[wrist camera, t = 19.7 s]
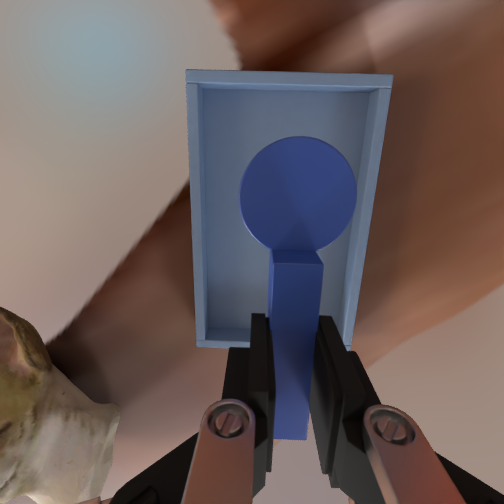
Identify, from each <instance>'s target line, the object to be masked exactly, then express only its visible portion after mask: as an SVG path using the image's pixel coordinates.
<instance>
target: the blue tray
mask: <svg viewBox="0 0 504 504" xmlns="http://www.w3.org/2000/svg"><path fill="white" fill-rule="evenodd" d="M185 73H186V95H187V96H186V97H187V120H188V121H187V122H188V146H189V171H190V172H189V173H190V198H191V223H192V248H193V273H194V298H195V323H196V346H197V347H206V348H230V347H250V333H251V313H265V316H266V317H267V303H268V281H269V259H270V249H268V248H266V247H265V246H263V245H262V244H260V243H259V242H258V241H257V240H256V239H255V238H254V237H253V236H252V235H251V234H250V233H249V231H248V229H247V228H246V226H245V224H244V222H243V220H242V217H241V214H240V210H239V202H238V194H239V186H240V182H241V179H242V176H243V173H244V171H245V169H246V167H247V166H248V164H249V163H250V161H251V160H252V159H253V158H254V156H255V155H256V154H257V153H258V152H260V151H261V150H262V149H263V148H264V147H266V146H268V145H269V144H271V143H273V142H275V141H277V140H280V139H283V138H286V137H292V136H308V137H313V138H317V139H320V140H323V141H325V142H327V143H329V144H330V145H332V146H333V147H335V148H336V149H337V150H338V151H339V152H340V153H341V154H342V155H343V156H344V157H345V158H346V160H347V161H348V163H349V164H350V166H351V168H352V170H353V173H354V176H355V180H356V185H357V202H356V207H355V211H354V214H353V216H352V219H351V221H350V223H349V224H348V226H347V228H346V229H345V230H344V232H343V233H342V234H341V235H340V236H339V237H338V238H337V239H336V240H335V241H334V242H333V243H331V244H330V245H328V246H327V247H325V248H323V249H321V250H319V251H316V252H317V254H318V256H319V257H320V259H321V260H322V262H323V264H324V273H323V283H322V293H321V303H320V313H319V315H327V316H332V318H333V320H334V322H335V325H336V327H337V329H338V331H339V334H340V336H341V338H342V341H343V343H344V345H345V347H346V350H347V351H350V350H351V343H352V337H353V330H354V324H355V318H356V311H357V305H358V299H359V292H360V286H361V280H362V273H363V267H364V260H365V254H366V248H367V241H368V235H369V229H370V222H371V216H372V210H373V203H374V197H375V191H376V184H377V178H378V172H379V165H380V159H381V152H382V146H383V140H384V133H385V127H386V121H387V114H388V108H389V102H390V95H391V87H392V83H393V76H394V75H393V74H362V73H321V72H280V71H238V70H197V69H187V70H186V71H185Z"/></svg>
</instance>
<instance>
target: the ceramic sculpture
mask: <svg viewBox="0 0 504 504" xmlns="http://www.w3.org/2000/svg"><path fill="white" fill-rule="evenodd" d="M120 417H121V411H120V407H119V406H118V405H117V404H115V403H106V404H100V403H96V402H93V401H92V400H90V399H89V398H88V397H87V396H86V395H85V394H84V393H83V392H82V391H81V390H80V389H78V388H77V387H76V386H75V385H73V383H72V382H71V381H70V380H69V379H68V378H67V377H66V376H65V375H64V374H63V373H62V372H61V371H59V370H58V369H57V368H56V367H55V366H54V365H53V364H52V362H51V359H50V356H49V354H48V352H47V350H46V348H45V345H44V343H43V341H42V339H41V337H40V335H39V333H38V332H37V330H36V329H35V328H34V327H33V326H32V325H31V324H30V323H29V322H28V321H26V320H25V319H22V318H20V317H19V316H17V315H16V314H14V313H12V312H10V311H8V310H6V309H4V308H2V307H0V504H4V503H6V502H7V501H9V500H11V499H13V498H15V497H17V496H20V495H26V496H29V497H30V498H32V499H33V500H34V501H35V502H37V504H77V503H80V502H83V501H86V500H90V499H93V498H96V497H99V496H100V494H101V491H102V489H103V486H104V483H105V481H106V478H107V476H108V474H109V471H110V468H111V466H112V457H113V444H114V439H115V434H116V430H117V427H118V423H119V420H120Z"/></svg>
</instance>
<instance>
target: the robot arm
mask: <svg viewBox="0 0 504 504" xmlns="http://www.w3.org/2000/svg"><path fill="white" fill-rule="evenodd" d="M275 405H276V381H275V367H274V353H273V340H272V330H270V329H269V317H266V316H265V313H251V333H250V347H230V348H229V353H228V360H227V367H226V373H225V380H224V387H223V393H222V400H220V401H217V402H215V403H214V404H212V405H210V406H209V408H208V409H207V410H206V411H205V413H204V415H203V418H202V422H201V426H200V430H199V432H198V433H196V434H195V435H193V436H192V437H190V438H189V439H188V440H186V441H185V442H183V443H182V444H181V445H179V446H178V447H176V448H175V449H174V450H172V451H171V452H169V453H168V454H167V455H165V456H164V457H162V458H161V459H160V460H158V461H157V462H155V463H154V464H152V465H151V466H150V467H148V468H147V469H145V470H144V471H143V472H141V473H140V474H138V475H137V476H136V477H134V478H133V479H131V480H130V481H129V482H127V483H126V484H125V485H124V486H123V487H121V488H120V489H119V490H118V491H117V492H116V494H115V495H114V497H113V498H109V499H106V500H103V501H101V498H100V496H99V497H96V498H93V499H90V500H86V501H83V502H80V503H77V504H252V499H253V497H254V496H255V495H256V494H257V493H258V492H259V491H260V490H261V489H262V488H263V487H264V486H265V477H266V476H265V475H266V472H271V465H272V451H273V436H274V420H275ZM309 408H310V414H311V419H312V423H313V429H314V434H315V439H316V444H317V449H318V454H319V460H320V465H321V469H322V473H323V474H328V475H329V480H330V484H331V488H340V489H341V490H342V491H343V492H344V493H345V494H346V495H348V496H349V504H504V495H503V494H501V493H499V492H498V491H496V490H495V489H493V488H492V487H490V486H488V485H487V484H485V483H484V482H482V481H481V480H479V479H477V478H476V477H474V476H473V475H471V474H469V473H468V472H466V471H465V470H463V469H461V468H460V467H458V466H456V465H455V464H453V463H452V462H450V461H449V460H447V459H446V458H444V457H442V456H441V455H439V454H437V453H436V452H435V451H433V449H432V447H431V446H430V444H429V442H428V441H427V439H426V438H425V436H424V434H423V433H422V431H421V429H420V428H419V426H418V425H417V424H416V422H415V421H414V420H413V419H412V418H411V417H410V416H409V415H407V414H406V413H405V412H403V411H401V410H399V409H398V408H395V407H392V406H389V405H382V404H381V402H380V400H379V398H378V396H377V394H376V392H375V390H374V388H373V386H372V383H371V382H370V380H369V377H368V375H367V373H366V371H365V369H364V367H363V365H362V363H361V361H360V359H359V357H358V355H357V353H356V352H355V351H347V350H346V347H345V345H344V343H343V341H342V338H341V336H340V334H339V331H338V329H337V327H336V325H335V322H334V320H333V318H332V316H327V315H319V323H318V332H316V337H315V347H314V357H313V367H312V377H311V387H310V397H309Z"/></svg>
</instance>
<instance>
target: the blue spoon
mask: <svg viewBox="0 0 504 504" xmlns="http://www.w3.org/2000/svg"><path fill="white" fill-rule="evenodd" d="M238 202H239V210H240V214H241V217H242V220H243V222H244V224H245V226H246V228H247V229H248V231H249V233H250V234H251V235H252V236H253V237H254V238H255V239H256V240H257V241H258V242H259V243H260V244H262V245H263V246H265V247H266V248H268V249H270V259H269V281H268V303H267V317H269V329H270V330H272V340H273V353H274V367H275V381H276V405H275V420H274V436H273V439H287V440H306V439H307V432H308V421H309V412H310V408H309V397H310V387H311V377H312V367H313V357H314V347H315V337H316V332H318V323H319V313H320V303H321V293H322V283H323V273H324V264H323V262H322V260H321V259H320V257H319V256H318V254H317V252H316V251H319V250H321V249H323V248H325V247H327V246H328V245H330V244H331V243H333V242H334V241H335V240H336V239H337V238H338V237H339V236H340V235H341V234H342V233H343V232H344V230H345V229H346V228H347V226H348V224H349V223H350V221H351V219H352V216H353V214H354V211H355V207H356V202H357V185H356V180H355V176H354V173H353V170H352V168H351V166H350V164H349V163H348V161H347V160H346V158H345V157H344V156H343V155H342V154H341V153H340V152H339V151H338V150H337V149H336V148H335V147H333V146H332V145H330V144H329V143H327V142H325V141H323V140H320V139H317V138H313V137H308V136H292V137H286V138H283V139H280V140H277V141H275V142H273V143H271V144H269V145H268V146H266V147H264V148H263V149H262V150H261V151H260V152H258V153H257V154H256V155H255V156H254V158H253V159H252V160H251V161H250V163H249V164H248V166H247V167H246V169H245V171H244V173H243V176H242V179H241V182H240V186H239V194H238Z"/></svg>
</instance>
